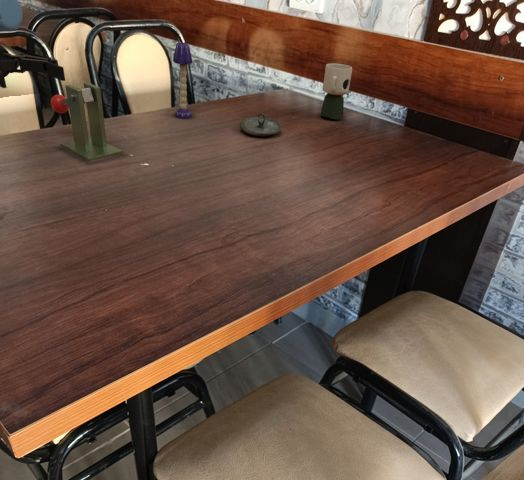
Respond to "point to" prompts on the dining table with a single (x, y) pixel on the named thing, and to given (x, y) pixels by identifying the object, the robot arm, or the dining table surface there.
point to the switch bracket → (82, 143)
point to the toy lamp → (183, 76)
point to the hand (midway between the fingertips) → (34, 77)
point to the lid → (260, 126)
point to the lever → (61, 102)
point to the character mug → (335, 89)
